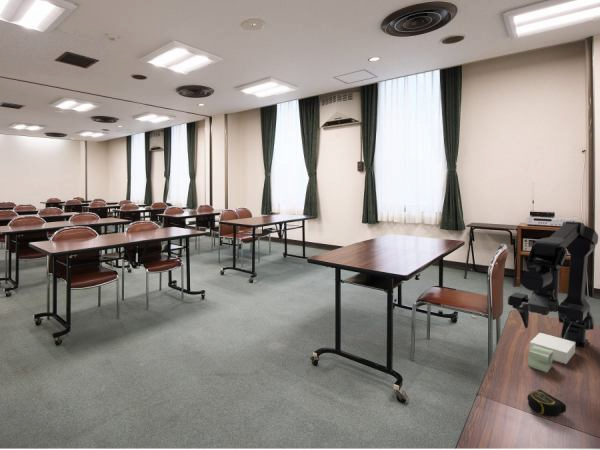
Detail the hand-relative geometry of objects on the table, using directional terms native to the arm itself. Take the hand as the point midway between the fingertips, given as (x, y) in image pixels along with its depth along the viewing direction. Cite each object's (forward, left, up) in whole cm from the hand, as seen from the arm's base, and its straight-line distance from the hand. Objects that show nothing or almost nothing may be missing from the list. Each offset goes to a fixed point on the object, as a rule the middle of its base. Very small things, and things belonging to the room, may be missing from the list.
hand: (543, 332), depth 105 cm
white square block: (-12, -1, -12) cm, 17 cm away
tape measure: (+22, +6, -12) cm, 25 cm away
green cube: (0, -1, -11) cm, 11 cm away
